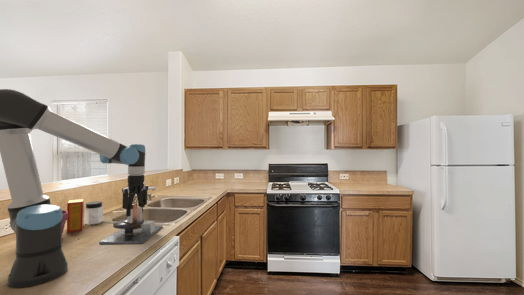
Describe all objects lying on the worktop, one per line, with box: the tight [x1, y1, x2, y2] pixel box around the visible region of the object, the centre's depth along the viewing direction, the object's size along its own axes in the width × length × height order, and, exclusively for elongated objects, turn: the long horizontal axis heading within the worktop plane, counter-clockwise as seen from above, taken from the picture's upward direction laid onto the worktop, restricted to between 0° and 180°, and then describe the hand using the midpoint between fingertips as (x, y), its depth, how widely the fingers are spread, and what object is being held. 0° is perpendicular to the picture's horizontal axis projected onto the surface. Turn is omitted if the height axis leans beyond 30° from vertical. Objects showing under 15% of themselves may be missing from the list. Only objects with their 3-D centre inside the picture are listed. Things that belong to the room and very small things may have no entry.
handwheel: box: [112, 203, 145, 233], centre depth 124 cm, size 14×17×15 cm
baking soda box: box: [66, 198, 85, 233], centre depth 132 cm, size 10×6×16 cm
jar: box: [84, 200, 104, 226], centre depth 144 cm, size 9×8×12 cm
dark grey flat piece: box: [98, 220, 163, 245], centre depth 123 cm, size 24×20×6 cm
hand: (134, 221), depth 120 cm, fingers open, 5 cm apart
